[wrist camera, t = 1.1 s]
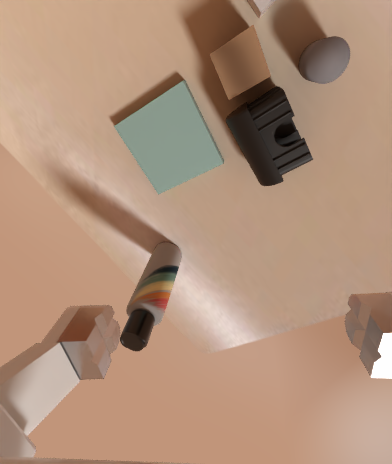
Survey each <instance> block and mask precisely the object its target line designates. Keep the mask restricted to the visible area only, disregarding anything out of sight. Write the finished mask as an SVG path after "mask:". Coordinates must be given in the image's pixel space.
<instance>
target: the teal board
mask: <svg viewBox="0 0 392 464" xmlns="http://www.w3.org/2000/svg"><path fill="white" fill-rule="evenodd" d="M114 127H115V129H116V130H117V132H118V133H119V135H120V136H121V138H122V139H123V141H124V142H125V144H126V145H127V147H128V149H129V150H130V152H131V153H132V155H133V156H134V158H135V159H136V161H137V162H138V164H139V165H140V167H141V168H142V170H143V172H144V173H145V175H146V176H147V178H148V179H149V181H150V182H151V184H152V185H153V187H154V188H155V190H156V191H157V193H158V194H160V193H162V192H165V191H167V190H169V189H171V188H173V187H175V186H177V185H179V184H181V183H184V182H186V181H188V180H190V179H192V178H194V177H196V176H198V175H200V174H202V173H205V172H207V171H209V170H211V169H213V168H215V167H217V166H219V165H221V164H224V160H223V158H222V156H221V153H220V151H219V149H218V147H217V145H216V143H215V141H214V139H213V137H212V135H211V133H210V131H209V129H208V127H207V125H206V122H205V120H204V118H203V116H202V114H201V112H200V110H199V108H198V106H197V104H196V102H195V100H194V98H193V96H192V94H191V91H190V89H189V87H188V85H187V83H186V81H185V80H183V81H182V82H180V83H179V84H177V85H176V86H174V87H173V88H171V89H170V90H168V91H167V92H165V93H164V94H162V95H160V96H159V97H157V98H156V99H154V100H153V101H151V102H150V103H148V104H147V105H145V106H144V107H142V108H141V109H139V110H138V111H136V112H135V113H133V114H132V115H130V116H129V117H127V118H126V119H124V120H123V121H121V122H120V123H118V124H117V125H115V126H114Z"/></svg>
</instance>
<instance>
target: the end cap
mask: <svg viewBox="0 0 392 464" xmlns="http://www.w3.org/2000/svg"><path fill="white" fill-rule="evenodd" d="M293 116H294V113H293V111H292V109H291V106H290V104H289V102H288V99H287V97H286V94H285V92H284V90H283V89H282V88H280V87H278V86H276V87H275V88H273V89H271V90H270V91H268V92H267V93H265V94H264V95H262V96H260V97H259V98H257V99H256V100H254V101H253V102H251V103H250V104H248V103H247V102H246V103H244V104H243V105H241V106H240V107H239V108H237V109H236V110H235V111H233V112H232V113H231V114H230V115H229V116H228V117H227V118H226V123H227V124H228V126H229V128H230V130H231V132H232V134H233V135H234V137H235V139H236V141H237V143H238V145H239V146H240V148H241V150H242V152H243V154H244V156H245V157H246V159H247V161H248V163H249V165H250V166H251V168H252V170H253V172H254V174H255V176H256V177H257V179H258V181H259V183H260V184H261V185H263V186H272V185H275V184H278V183H281V182H283V178H282V175H283V174H285V173H287V172H289V171H291V170H293V169H295V168H297V167H299V166H301V165H303V164H305V163H307V162H309V161H311V160H313V158H312V156H311V153H310V151H309V149H308V146H307V144H306V142H305V139H304V138H302V139H301V137H300V135H299V133H298V130H297V129H296V127H295V125H294V123H293V120H292V117H293Z"/></svg>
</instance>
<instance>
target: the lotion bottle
mask: <svg viewBox="0 0 392 464" xmlns="http://www.w3.org/2000/svg"><path fill="white" fill-rule="evenodd" d="M181 258H182V254H181V251H180V249H179V248H178V247H177V246H176V245H174V244H172V243H168V242H164V243H160V244H159V245H157V246H156V248H155V249H154V251H153V253H152V255H151V257H150V260H149V262H148V264H147V266H146V268H145V270H144V272H143V274H142V276H141V278H140V280H139V282H138V285H137V287H136V289H135V291H134V293H133V295H132V297H131V299H130V301H129V304H128V306H127V314H128V316H129V319H128V321H127V323H126V325H125V327H124V330H123V332H122V334H121V337H120V341H121V343H122V345H123V346H125V347H126V348H129V349H130V350H133V351H140V350H142V349H143V348H144V347H146V346H147V343H148V340H149V337H150V334H151V332H152V328H153V326H155V325H157V324H159V323H160V322H161V320H162V318H163V315H164V312H165V309H166V306H167V303H168V300H169V297H170V293H171V290H172V287H173V284H174V281H175V278H176V274H177V271H178V268H179V265H180V262H181Z"/></svg>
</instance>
